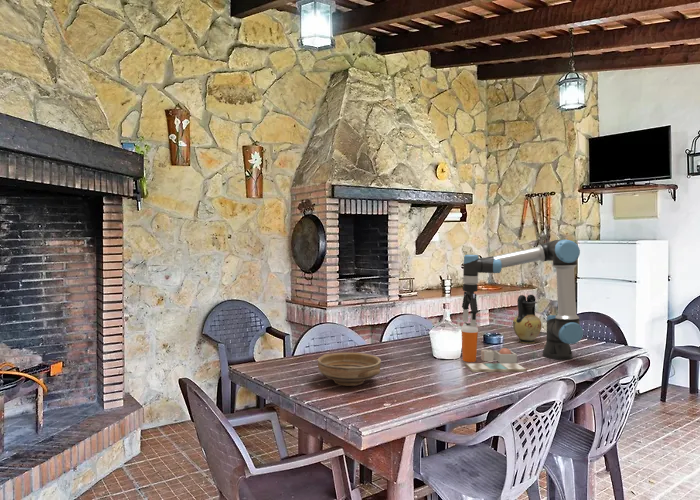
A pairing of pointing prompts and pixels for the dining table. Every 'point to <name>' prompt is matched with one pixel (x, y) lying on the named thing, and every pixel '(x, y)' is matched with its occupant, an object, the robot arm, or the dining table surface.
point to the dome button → (505, 351)
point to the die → (487, 355)
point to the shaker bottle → (469, 342)
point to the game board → (495, 367)
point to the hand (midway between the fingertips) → (469, 323)
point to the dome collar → (505, 357)
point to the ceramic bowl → (349, 367)
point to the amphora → (526, 320)
